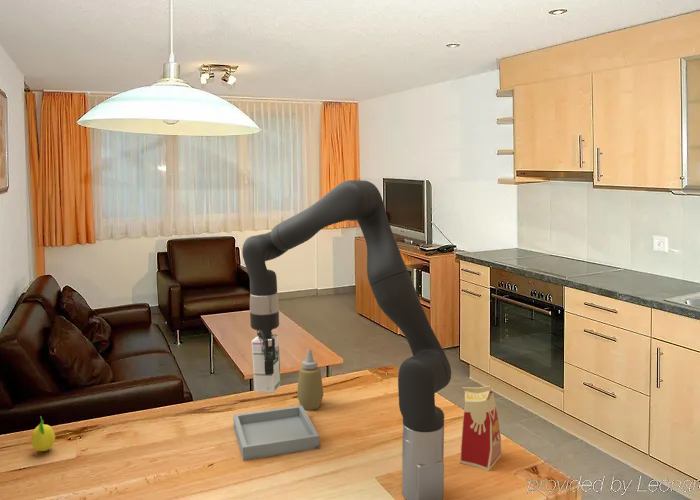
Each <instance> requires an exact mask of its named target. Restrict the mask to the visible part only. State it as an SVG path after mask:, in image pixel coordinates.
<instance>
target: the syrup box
mask: <svg viewBox="0 0 700 500" xmlns="http://www.w3.org/2000/svg"><path fill="white" fill-rule="evenodd" d="M272 335H274V339H275V357H276V359H275V360H274V361H273V367H274V373H273V374H271V375H266V374H265V363H264V355H263V353H261V342H262V343H263V339H262V340H261V342H260V341H259V338H258V337H257V336H256V337H254V338H253V339H252V340H251V357H252V371H253V386H254V387H253V390H254V392H255V393H265V394H267V393H269V394H275V393H276V391H277V390H278V389H279V388H280V387H281V385H282V382H281V379H282V377H281V362H280V361H281V360H280V343H279V341H280V339H279V335H278V334H275V333H274V334H273V333H272ZM263 348H264V349H265V346H264V345H263ZM268 356H271V352H268Z"/></svg>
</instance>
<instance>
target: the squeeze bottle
mask: <svg viewBox="0 0 700 500" xmlns="http://www.w3.org/2000/svg"><path fill="white" fill-rule="evenodd" d="M312 351H313V350H312V349H307V351H306V356H305V359H304V360H302V361H301V367H300V369H299V370H298V379H297V391H296V393H297V394H296V396H297V400H298V402H299V406H301V405H302V406H303V408H304V410H305V411H306V410H307V411H315V410H317V409H319V408H320V407H321V405H322V401H323V398H324V389H323V381H322V380H323V379H322V371H321V368H320V367H318V361H317V360H316V359H314V354H313V352H312Z"/></svg>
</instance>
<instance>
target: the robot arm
mask: <svg viewBox="0 0 700 500" xmlns="http://www.w3.org/2000/svg"><path fill="white" fill-rule="evenodd" d="M345 221H351V222H354V221H355V222H357V223H358V225H359V228H360V229H361V232H362V233H361V234H362V235H363V237H364V241H365V244H366V254H367V255H366V275H367V279H368V283H369V286H370V288H371V291H372V294H373V296H374V298H375V301H376V303H377V304H378V307H379V308H380V310H381V311H382V312H383V313H384V315H385V316H387V317H388V319H390V321H391V322H393V324H394V325H395V326H397V327H398V329H399V330H400V331H401V332H402V334H403V336H404V337H405V339H406V341H407V343H408V346H409V348H410V351H411V353H412V356H411V357H408V358H407V359H405V360H404V361H403V362H402V363H401V364H400V366H399V370H398V374H397V389H398V406H399V412H400V414H401V416H402V458H401V459H402V470H401V471H402V472H401V473H402V474H401V475H402V480H401V482H402V485H401V487H402V491H401V493H402V496H403V498H404V499H406V500H444V488H445V486H444V485H445V484H444V483H445V463H444V457H445V456H444V454H445V452H444V451H445V449H444V443H445V441H444V440H445V438H444V437H445V413H444V411H443V410H442V408H440V407H439V406H437V405H436V403H435V402H436V399H435V395H436V393H438V392H439V391H441V390H442V389H444V388H446V387H447V386H448V385H449V384H450V382H451V380H452V368H451V363H450V362H449V359H448V357H447V355H446V353H445V351H444V348H443V347H442V345H441V344H440V341H439V340H438V337H437V336H436V334H435V332H434V330H433V328H432V326H431V324H430V322H429V319H428V317H427V315H426V312H425V310H424V308H423V306H422V303H421V300H420V298H419V295H418V293H417V291H416V287H415V284H414V282H413V279H412V277H411V275H410V272H409V271H408V270H409V269H408V267H407V265H406V263H405V261H404V259H403V256H402V254H401V250H400V248H399V246H398V243H397V241H396V239H395V235H394V233H393V231H392V227H391V224H390V221H389V219H388V214H387V210H386V207H385V204H384V200H383V198H382V195H381V193H380V190H379V189H378V187H377V186H376V185H375V184H374V183H373V182H370V181H368V180H361V179H360V180H359V179H358V180H355V179H354V180H345V181H343V182H340V183H339V184H337V185H336V186H335V187H334V188H332V189H331V190H330V191H329V192H328V193H326V194H325V195H324V196H322V197H321V198H320V199H319V200H318V201H316V202H314V203H313V204H312V205H310V206H308V207H307V208H306V209H304V210H302V211H300V212H298V213H297V214H294V215H293V216H291V217H289V218H287V219H285V220H284V221H281V222H279V223H278V224H276V225H275V226H273V228H272V229H271V231H269V232H266V233H261V234H257V235H251V236H249V237H247V238H246V239H245V240H244V243H243V244H242V251H241V252H242V253H241V254H242V259H243V261H244V265H245V269H246V272H247V275H248V277H249V292H250V293H249V294H250V295H249V296H250V297H249V317H250V327H251V329H253V330H255V331H256V337H258V338H259V341H260V342H261V340H262V339H263V343H262V342H261V353H263V355H264V363H265V374H266V375H271V374H273V373H274V367H273V361H274V360H275V359H276V357H275V339H274V335H272V334H273V332H272V330H276V329H277V328H278V327H279V326H280V307H279V296H278V280H277V279H278V277H277V274H276V272H275V271H274V270H272V269H267V264H266V262H268V261H271V260H276V259H277V258H279V257H280V256H282V255H284V254H285V253H287V252H288V251H290V250H291V249H294V248H296V247H297V246H301V245H302V244H304V243H306V242H308V241H309V240H311V239H312V238H313V237H314V236H316V234H319V232H320V231H322V230H323V229H325V228H326V227H329V226H332V225H335V224H338V223H342V222H345ZM263 345H264V346H265V349H264V348H263ZM268 352H271V356H268Z"/></svg>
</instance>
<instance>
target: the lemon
mask: <svg viewBox="0 0 700 500" xmlns="http://www.w3.org/2000/svg"><path fill="white" fill-rule="evenodd" d="M39 417H40V423H39V424H38V425H37V426H36V427H35V428H34V430H33V432H32V433H31V438H30V439H31V440H30V441H31V444H32V445H31V446H32V447H33V449H34V450H36V452H37V451H39V452H43V451H46V450H49V449H51V448H52V447H53V445H54V444H55V441H56V433H55V430H54V429H53V428H52V427H51V425H49V424H44V423H45V422H44V419H43V418H42V416H41V415H40V416H39ZM46 452H47V451H46Z"/></svg>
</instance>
